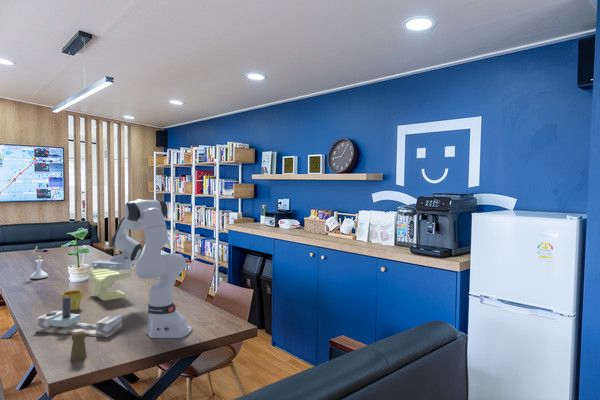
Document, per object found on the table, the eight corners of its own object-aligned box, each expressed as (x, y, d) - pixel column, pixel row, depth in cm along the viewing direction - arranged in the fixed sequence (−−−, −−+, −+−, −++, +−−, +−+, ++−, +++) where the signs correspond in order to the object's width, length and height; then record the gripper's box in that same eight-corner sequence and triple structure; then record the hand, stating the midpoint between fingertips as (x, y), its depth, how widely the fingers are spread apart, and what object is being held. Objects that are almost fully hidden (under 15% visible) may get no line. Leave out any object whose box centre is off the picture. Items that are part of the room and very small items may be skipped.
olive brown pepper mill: (73, 362, 159) (73, 336, 159) (68, 357, 163) (68, 332, 163) (88, 357, 164) (89, 332, 164) (83, 353, 168) (83, 328, 168)
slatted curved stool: (89, 294, 256) (89, 267, 256) (114, 289, 268) (114, 264, 267) (103, 304, 235) (104, 275, 234) (130, 299, 246) (130, 272, 245)
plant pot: (57, 310, 223) (57, 293, 222) (74, 305, 232) (74, 289, 232) (70, 312, 219) (70, 295, 219) (86, 307, 228) (86, 291, 228)
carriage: (80, 322, 200) (80, 295, 199) (66, 329, 190) (66, 300, 189) (66, 321, 201) (66, 294, 200) (51, 328, 191) (51, 299, 190)
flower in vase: (35, 276, 299) (35, 244, 298) (51, 276, 300) (51, 244, 299) (25, 280, 286) (25, 247, 285) (41, 280, 287) (41, 247, 287)
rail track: (121, 328, 198) (122, 314, 198) (107, 337, 186) (107, 322, 186) (54, 322, 203) (54, 309, 203) (36, 331, 191) (36, 316, 191)
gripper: (100, 256, 225) (84, 261, 212) (133, 258, 223) (119, 263, 209) (100, 267, 226) (84, 272, 212) (133, 269, 223) (118, 274, 209)
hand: (101, 267), depth 211 cm, fingers open, 8 cm apart
